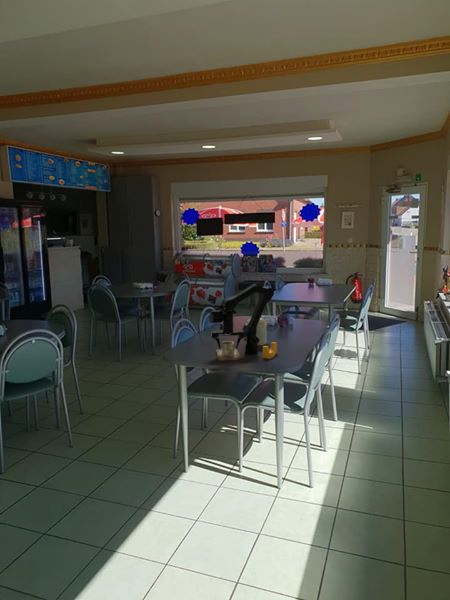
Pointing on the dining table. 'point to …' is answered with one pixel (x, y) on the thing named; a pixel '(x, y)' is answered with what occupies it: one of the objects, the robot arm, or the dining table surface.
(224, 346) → the collar
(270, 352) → the pipe clamp
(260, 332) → the jar
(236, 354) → the post board
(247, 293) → the robot arm
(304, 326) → the dining table surface
